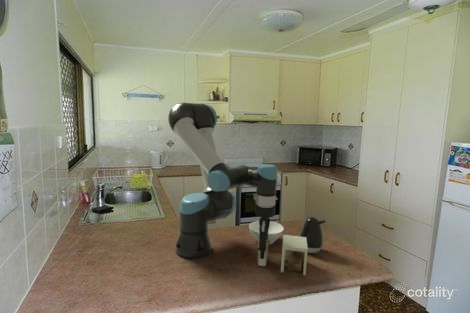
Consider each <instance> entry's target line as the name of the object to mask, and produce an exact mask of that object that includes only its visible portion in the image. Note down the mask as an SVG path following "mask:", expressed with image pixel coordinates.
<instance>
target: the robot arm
mask: <svg viewBox="0 0 470 313" xmlns="http://www.w3.org/2000/svg"><path fill="white" fill-rule="evenodd" d="M167 120H168V124H169V127H170V129H171V130H172V132H173V134H175V135H176V136H179V137H180V139H181V140H182V141H183V142H184V144H185V145H186V147H187V148H188V149H189V151H190V152H191V153H192V155H193V156H194V157H195V159H196V161H198V163H199V166H200V167H199V168H200V171H201V176H202V181H203V186H204V188H203V190H202V192H196V193H195V192H194V193H189V194H186V195H185V196H183V197H182V198H181V200H180V203H179V204H180V206H179V233H178V237H177V240H176V242H175V246H174V247H175V249H174V250H175V251H174V252H175V253H176V254H177V256H180V257H182V258H187V259H197V258H202V257H205V256H207V255H208V254H210V253H211V251H212V242H211V241H212V240H211V238H210V236H209V229H208V228H209V223H213V222H215V221H218V220H221V219H222V220H223V219H226V218H227V217H230V216H232V215H233V214H234V213H235V210H236V207H237V199H236V196H235V194H233V192H232V191H230V190H232V189H235V188H241V187H246V186H248V187H252V188H256V192H255V216H258V217H259V220H258V221H259V225H260V227H259V231H260V236H259V248H258V247H257V251H258V250H259V262H258V263H257V264H258V266H259V267H260V266H261V267H266V265H267V264H266V240H268V230H269V225H270V221H271V218H273V217H274V216H275V215H276V201H277V200H278V197H277V184H278V183H277V182H278V168H277V166H276V165H274V164H271V163H270V164H268V163H262V164H258V165H257V167H251V166H248V165H245V164H243V165H241V164H239V165H238V164H237V165H235V166H234V167H233V168H232V167H231V168H228V166H227V164H225V163H224V161H223V160H222V159H221V158H220V156H219V155H218V153H217V150H216V149H217V148H216V145H215V140H214V136H213V133H214V132H215V127H216V125H217V121H218V115H217V112H216V110H215V109H214V107H213V106H211V105H209V104H205V103H194V102H193V103H192V102H179V103H176V104H175V105H173V106H172V108H171V109H170V111H169V113H168V119H167ZM268 243H269V241H268Z"/></svg>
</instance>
